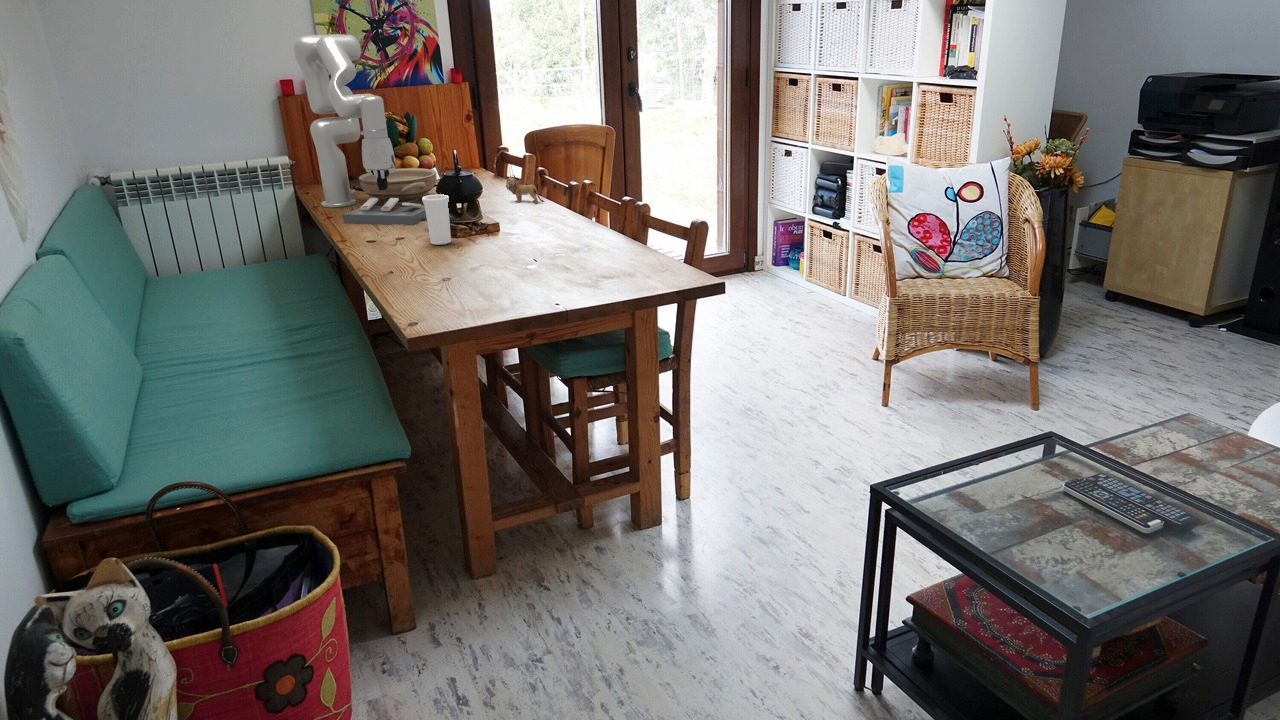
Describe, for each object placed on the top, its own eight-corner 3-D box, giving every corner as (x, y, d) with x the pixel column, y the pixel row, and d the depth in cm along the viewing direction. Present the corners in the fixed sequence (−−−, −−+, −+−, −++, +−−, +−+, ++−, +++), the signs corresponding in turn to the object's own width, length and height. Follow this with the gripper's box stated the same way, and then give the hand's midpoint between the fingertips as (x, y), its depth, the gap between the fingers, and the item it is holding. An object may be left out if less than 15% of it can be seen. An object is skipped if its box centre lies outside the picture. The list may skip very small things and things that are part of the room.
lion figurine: (504, 203, 320) (502, 179, 316) (510, 200, 325) (508, 176, 321) (541, 204, 316) (539, 179, 312) (547, 201, 321) (545, 177, 317)
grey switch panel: (365, 214, 309) (364, 205, 308) (447, 216, 302) (446, 207, 301) (344, 223, 297) (342, 214, 296) (429, 225, 289) (428, 216, 288)
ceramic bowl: (346, 199, 336) (342, 173, 332) (415, 189, 352) (412, 164, 349) (384, 214, 309) (380, 185, 305) (457, 202, 325) (454, 175, 321)
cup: (448, 246, 261) (442, 199, 256) (423, 246, 263) (417, 199, 258) (458, 240, 269) (453, 194, 263) (434, 239, 270) (428, 194, 265)
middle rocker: (391, 200, 304) (390, 197, 303) (398, 200, 303) (398, 197, 302) (381, 210, 298) (380, 208, 297) (389, 211, 297) (388, 208, 297)
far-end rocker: (370, 200, 306) (370, 197, 305) (378, 200, 305) (377, 197, 304) (360, 209, 300) (359, 207, 299) (368, 210, 299) (367, 207, 298)
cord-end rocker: (413, 206, 303) (413, 203, 303) (420, 206, 302) (420, 203, 302) (402, 205, 295) (402, 202, 295) (410, 205, 295) (410, 202, 295)
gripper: (349, 135, 287) (357, 191, 294) (390, 136, 284) (397, 192, 291) (361, 132, 294) (369, 186, 301) (401, 133, 290) (408, 188, 297)
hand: (383, 189), depth 296 cm, fingers closed
